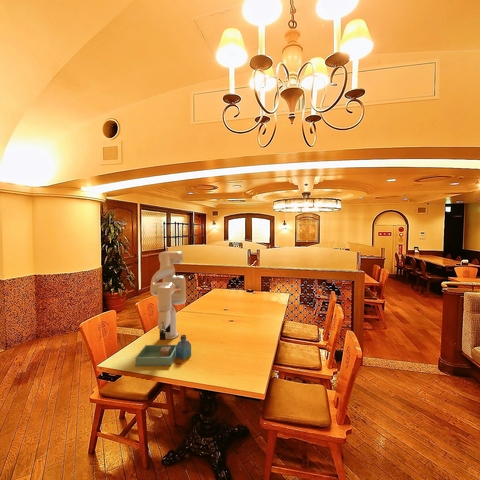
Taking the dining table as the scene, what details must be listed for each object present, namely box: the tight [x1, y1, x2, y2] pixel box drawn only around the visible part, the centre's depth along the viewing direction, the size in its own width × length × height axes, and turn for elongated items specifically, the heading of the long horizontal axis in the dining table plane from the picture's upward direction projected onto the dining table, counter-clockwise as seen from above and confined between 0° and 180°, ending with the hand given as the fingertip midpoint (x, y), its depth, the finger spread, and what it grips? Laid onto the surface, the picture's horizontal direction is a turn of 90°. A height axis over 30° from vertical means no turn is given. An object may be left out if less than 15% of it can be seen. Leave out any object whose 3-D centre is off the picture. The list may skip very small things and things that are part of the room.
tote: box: [134, 344, 177, 367], centre depth 147 cm, size 16×20×4 cm
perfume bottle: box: [175, 334, 192, 360], centre depth 150 cm, size 6×6×12 cm
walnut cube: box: [160, 347, 171, 357], centre depth 147 cm, size 5×5×5 cm
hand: (165, 335), depth 147 cm, fingers open, 9 cm apart
